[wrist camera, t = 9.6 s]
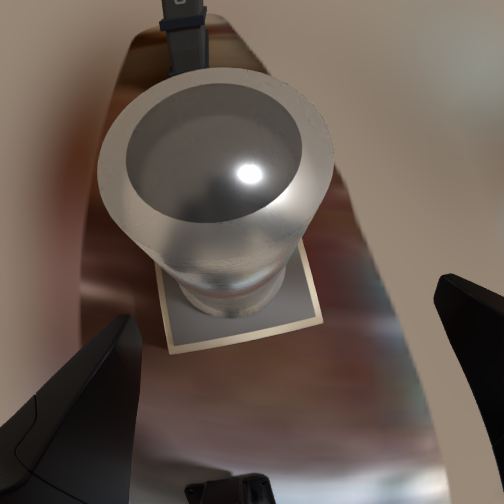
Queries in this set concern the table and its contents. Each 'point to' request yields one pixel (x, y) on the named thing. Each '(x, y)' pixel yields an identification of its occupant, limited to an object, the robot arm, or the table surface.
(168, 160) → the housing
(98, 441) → the robot arm
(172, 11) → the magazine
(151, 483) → the table surface
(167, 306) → the stand
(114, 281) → the table surface
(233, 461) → the table surface
